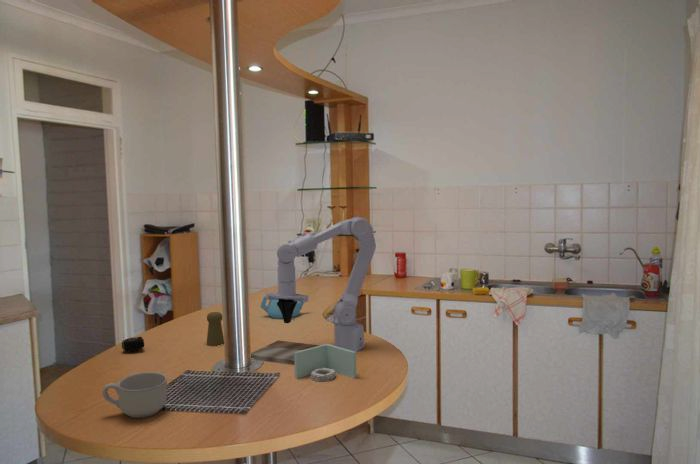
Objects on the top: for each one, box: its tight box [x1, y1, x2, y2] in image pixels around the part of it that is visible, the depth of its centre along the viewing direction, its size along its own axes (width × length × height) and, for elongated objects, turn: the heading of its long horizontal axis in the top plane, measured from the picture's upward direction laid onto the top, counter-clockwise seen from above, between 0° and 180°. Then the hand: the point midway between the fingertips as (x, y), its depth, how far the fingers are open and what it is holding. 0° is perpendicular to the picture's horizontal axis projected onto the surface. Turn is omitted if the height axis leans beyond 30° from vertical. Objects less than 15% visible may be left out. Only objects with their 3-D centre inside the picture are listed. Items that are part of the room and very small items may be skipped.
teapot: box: [260, 295, 305, 320], centre depth 220 cm, size 15×15×11 cm
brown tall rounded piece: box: [206, 311, 225, 347], centre depth 177 cm, size 6×6×11 cm
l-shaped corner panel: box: [294, 343, 357, 383], centre depth 141 cm, size 12×12×8 cm
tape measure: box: [121, 336, 145, 353], centre depth 170 cm, size 7×7×4 cm
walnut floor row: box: [266, 340, 320, 350], centre depth 169 cm, size 18×7×2 cm, turn 66°
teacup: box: [102, 371, 168, 419], centre depth 120 cm, size 14×11×8 cm
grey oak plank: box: [250, 345, 301, 366], centre depth 161 cm, size 18×10×2 cm, turn 66°
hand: (287, 322), depth 167 cm, fingers closed
